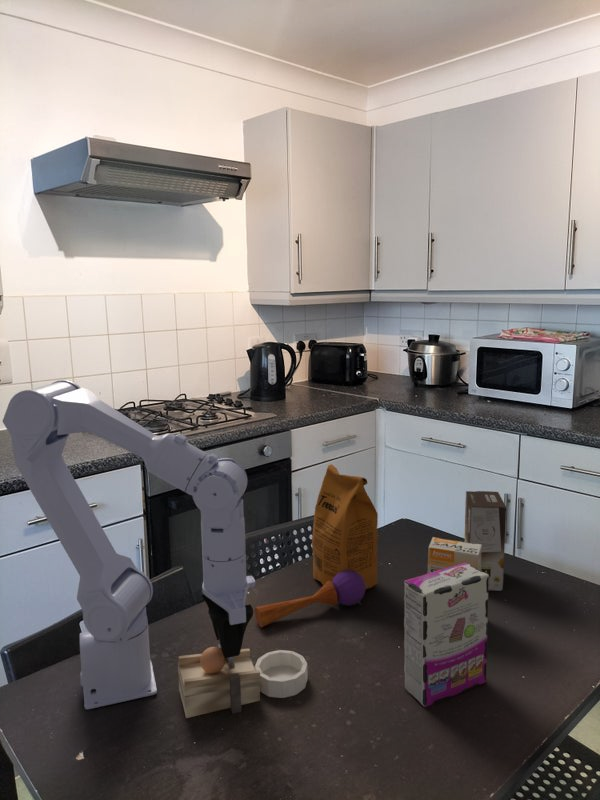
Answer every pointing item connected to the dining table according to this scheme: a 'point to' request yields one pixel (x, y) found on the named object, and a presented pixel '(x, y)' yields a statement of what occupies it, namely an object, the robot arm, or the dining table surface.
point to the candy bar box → (445, 632)
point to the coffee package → (344, 529)
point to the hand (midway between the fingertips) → (227, 646)
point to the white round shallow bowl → (282, 673)
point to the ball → (212, 660)
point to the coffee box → (487, 532)
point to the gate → (230, 663)
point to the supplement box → (452, 554)
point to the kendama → (317, 597)
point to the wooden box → (217, 685)
